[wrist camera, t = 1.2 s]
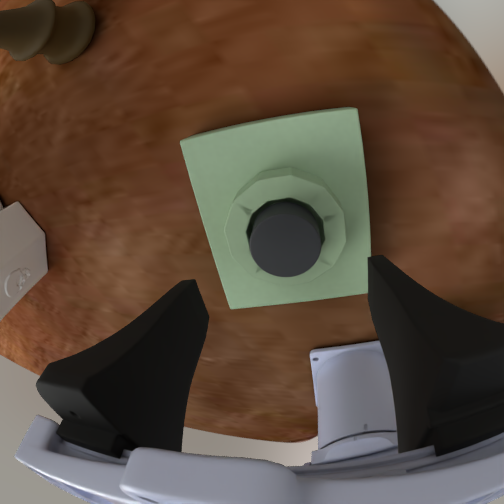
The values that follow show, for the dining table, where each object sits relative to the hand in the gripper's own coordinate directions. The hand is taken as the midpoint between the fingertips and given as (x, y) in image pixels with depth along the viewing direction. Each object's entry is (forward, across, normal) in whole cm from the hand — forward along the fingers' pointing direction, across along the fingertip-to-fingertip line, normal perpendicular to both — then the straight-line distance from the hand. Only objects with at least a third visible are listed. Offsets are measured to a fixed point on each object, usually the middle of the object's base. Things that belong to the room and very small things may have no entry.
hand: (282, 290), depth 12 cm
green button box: (+9, 0, 0) cm, 9 cm away
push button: (+5, 0, 0) cm, 5 cm away
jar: (+9, +26, -2) cm, 28 cm away
